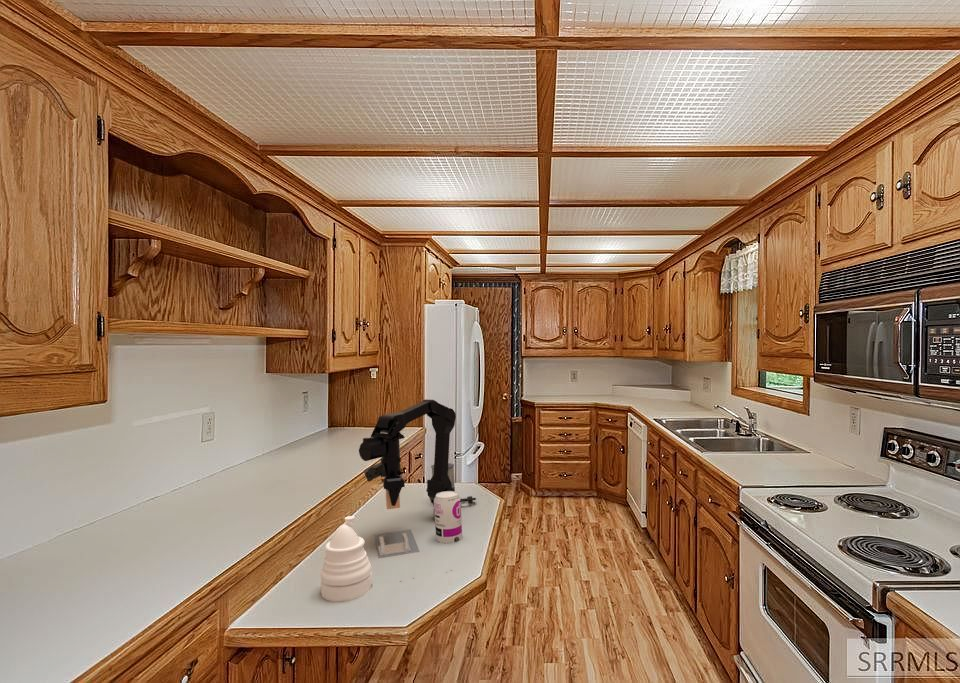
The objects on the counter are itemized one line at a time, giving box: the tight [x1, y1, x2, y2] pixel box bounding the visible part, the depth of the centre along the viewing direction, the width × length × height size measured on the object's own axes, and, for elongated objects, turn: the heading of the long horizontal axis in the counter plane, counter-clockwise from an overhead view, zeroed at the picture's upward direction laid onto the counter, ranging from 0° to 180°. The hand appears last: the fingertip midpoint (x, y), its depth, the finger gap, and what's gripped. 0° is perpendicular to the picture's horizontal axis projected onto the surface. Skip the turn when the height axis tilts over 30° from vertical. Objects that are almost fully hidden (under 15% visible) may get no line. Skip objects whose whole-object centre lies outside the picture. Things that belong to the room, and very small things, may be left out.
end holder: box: [378, 533, 411, 557], centre depth 156 cm, size 9×7×4 cm
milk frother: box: [430, 462, 477, 506], centre depth 201 cm, size 14×16×15 cm
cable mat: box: [373, 528, 421, 559], centre depth 161 cm, size 12×20×1 cm, turn 15°
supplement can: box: [433, 491, 463, 544], centre depth 163 cm, size 8×8×15 cm
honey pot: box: [320, 515, 373, 602], centre depth 135 cm, size 13×13×18 cm
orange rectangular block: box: [385, 489, 401, 510], centre depth 164 cm, size 4×3×6 cm
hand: (393, 504), depth 164 cm, fingers closed on orange rectangular block, 3 cm apart
